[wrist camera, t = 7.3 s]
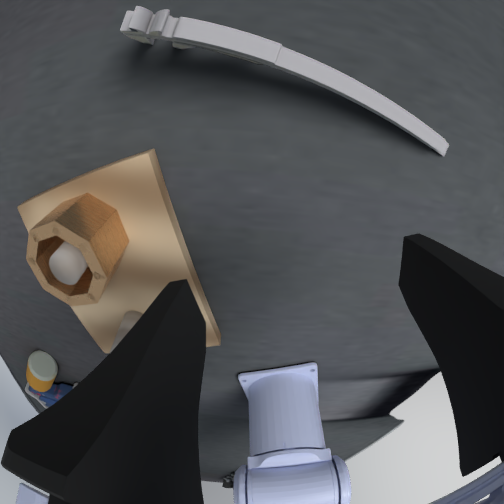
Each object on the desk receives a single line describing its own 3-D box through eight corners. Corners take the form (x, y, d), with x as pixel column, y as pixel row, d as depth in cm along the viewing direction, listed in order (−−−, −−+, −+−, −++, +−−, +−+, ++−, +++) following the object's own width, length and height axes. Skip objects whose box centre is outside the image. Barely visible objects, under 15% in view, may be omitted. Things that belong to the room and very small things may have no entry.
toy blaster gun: (3, 333, 26) (43, 389, 34) (-9, 356, 22) (36, 409, 30) (133, 365, 28) (154, 416, 36) (126, 397, 24) (150, 440, 32)
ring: (138, 261, 18) (119, 300, 15) (78, 273, 19) (55, 308, 15) (107, 185, 15) (76, 213, 12) (47, 207, 16) (14, 236, 12)
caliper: (146, 45, 12) (96, 28, 7) (151, 29, 12) (105, 4, 6) (440, 155, 16) (498, 188, 11) (445, 142, 15) (505, 171, 10)
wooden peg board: (220, 334, 24) (217, 385, 19) (108, 344, 25) (92, 385, 20) (154, 148, 15) (120, 173, 11) (25, 200, 16) (-15, 233, 12)
